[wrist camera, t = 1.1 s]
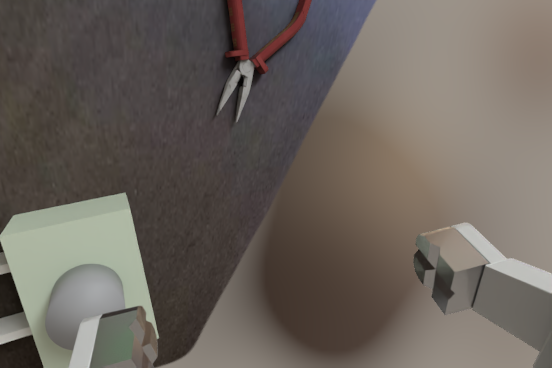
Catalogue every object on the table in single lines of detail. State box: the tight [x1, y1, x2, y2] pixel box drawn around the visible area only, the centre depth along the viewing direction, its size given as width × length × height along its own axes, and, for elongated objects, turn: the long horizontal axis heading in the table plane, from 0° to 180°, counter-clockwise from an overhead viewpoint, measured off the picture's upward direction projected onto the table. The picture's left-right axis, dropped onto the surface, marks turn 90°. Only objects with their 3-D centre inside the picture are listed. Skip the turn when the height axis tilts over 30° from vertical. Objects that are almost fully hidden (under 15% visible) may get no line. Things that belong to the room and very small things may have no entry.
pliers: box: [216, 0, 312, 123], centre depth 48 cm, size 12×20×3 cm, turn 160°
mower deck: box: [0, 193, 159, 368], centre depth 40 cm, size 20×17×12 cm
